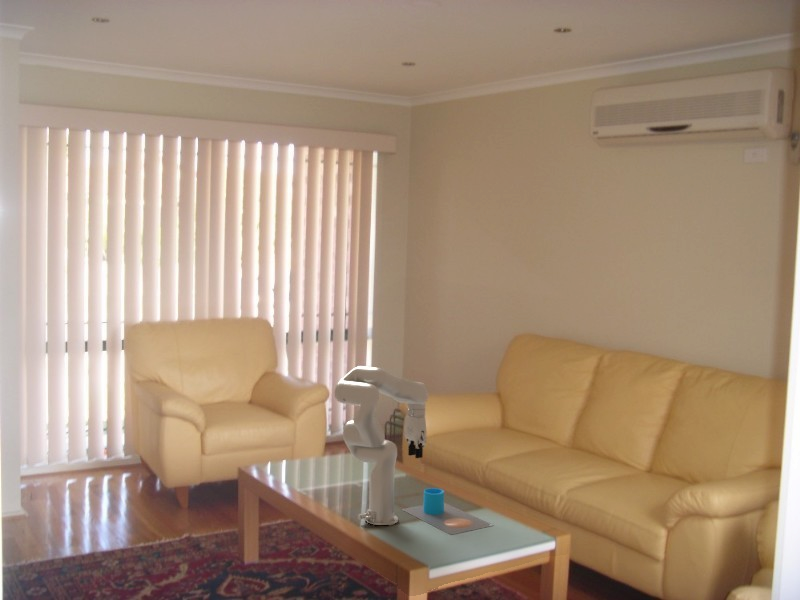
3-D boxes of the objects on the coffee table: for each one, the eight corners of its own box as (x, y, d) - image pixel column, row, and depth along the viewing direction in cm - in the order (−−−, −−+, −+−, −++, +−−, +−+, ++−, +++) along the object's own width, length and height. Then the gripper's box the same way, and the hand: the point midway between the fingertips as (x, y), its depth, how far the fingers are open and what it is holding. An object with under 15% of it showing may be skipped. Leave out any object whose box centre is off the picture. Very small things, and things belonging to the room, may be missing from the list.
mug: (447, 513, 338) (447, 492, 338) (428, 515, 335) (429, 495, 335) (433, 504, 349) (434, 484, 349) (415, 506, 346) (416, 486, 345)
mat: (451, 534, 314) (451, 534, 314) (400, 509, 343) (400, 509, 343) (493, 525, 325) (493, 525, 325) (441, 501, 354) (441, 501, 354)
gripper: (397, 409, 355) (396, 453, 356) (419, 417, 340) (419, 462, 342) (412, 407, 359) (411, 450, 360) (435, 415, 345) (434, 459, 346)
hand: (415, 455), depth 351 cm, fingers open, 4 cm apart
